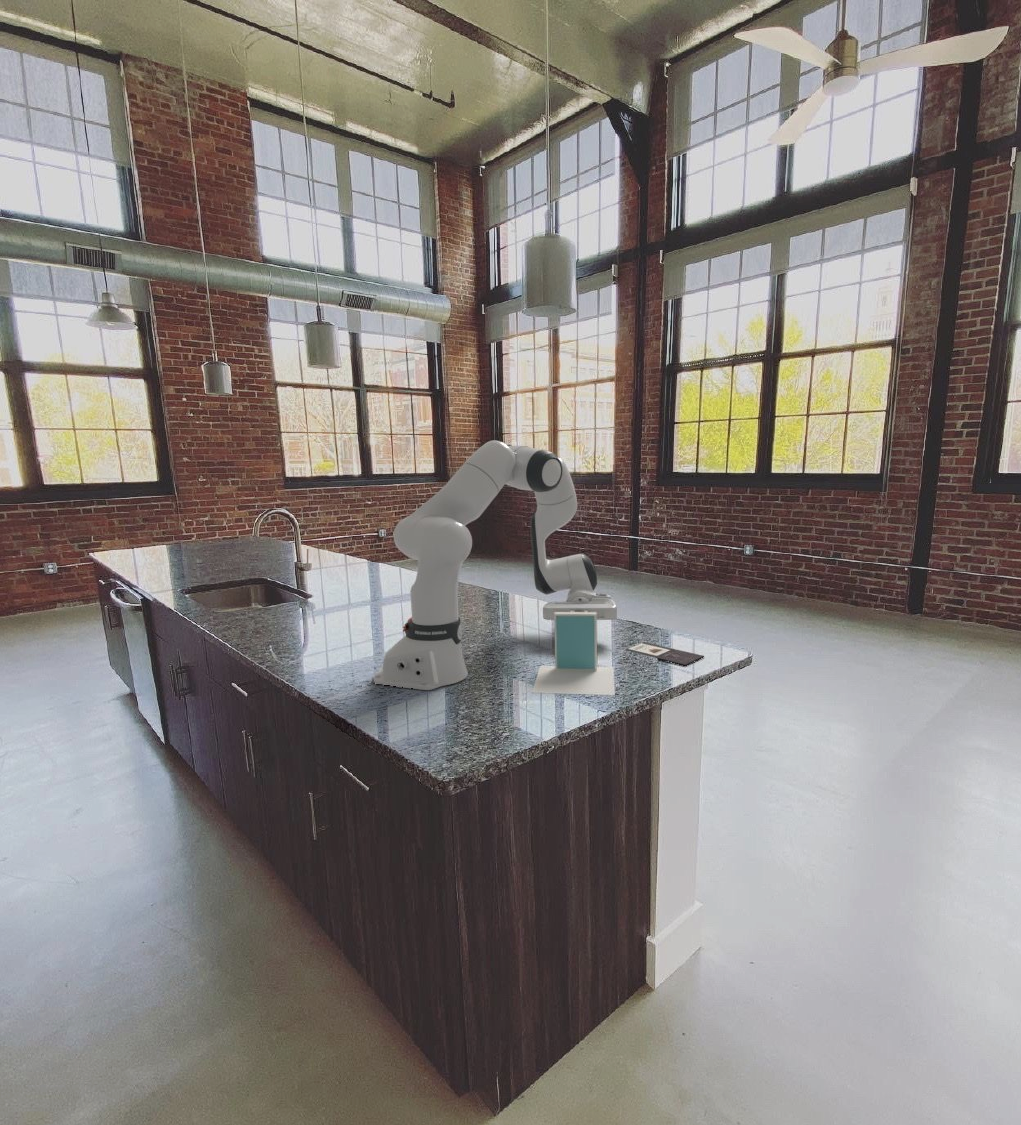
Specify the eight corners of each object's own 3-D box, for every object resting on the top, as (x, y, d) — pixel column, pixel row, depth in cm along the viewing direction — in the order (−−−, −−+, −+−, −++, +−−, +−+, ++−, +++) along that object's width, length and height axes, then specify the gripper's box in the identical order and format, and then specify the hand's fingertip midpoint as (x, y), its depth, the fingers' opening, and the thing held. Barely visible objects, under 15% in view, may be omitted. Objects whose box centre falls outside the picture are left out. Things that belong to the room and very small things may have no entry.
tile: (555, 670, 145) (554, 614, 143) (556, 667, 147) (554, 612, 145) (596, 671, 144) (596, 614, 141) (597, 668, 146) (596, 612, 144)
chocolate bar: (685, 664, 146) (624, 649, 159) (685, 668, 146) (624, 653, 159) (704, 655, 152) (644, 642, 165) (704, 659, 152) (644, 645, 165)
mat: (531, 694, 132) (531, 692, 131) (540, 667, 149) (540, 665, 149) (614, 697, 129) (614, 695, 129) (613, 669, 146) (613, 667, 146)
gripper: (544, 595, 173) (539, 607, 159) (616, 594, 170) (617, 606, 156) (544, 616, 174) (540, 629, 160) (616, 616, 171) (617, 630, 157)
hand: (578, 618), depth 158 cm, fingers closed
